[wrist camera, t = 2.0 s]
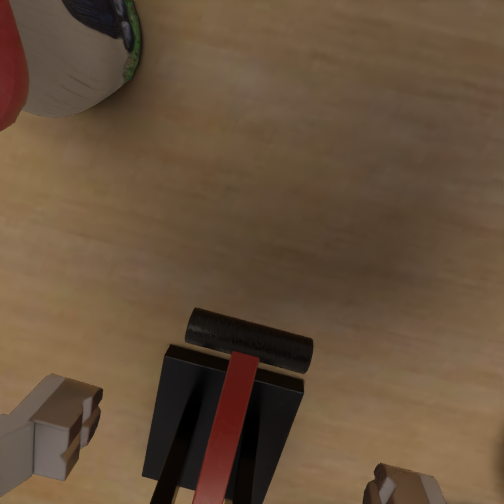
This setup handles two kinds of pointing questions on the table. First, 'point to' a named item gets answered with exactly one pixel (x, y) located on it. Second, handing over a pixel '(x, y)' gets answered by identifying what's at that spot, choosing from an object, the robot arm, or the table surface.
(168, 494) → the bracket
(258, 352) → the lever
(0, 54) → the decorative ornament
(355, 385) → the table surface
